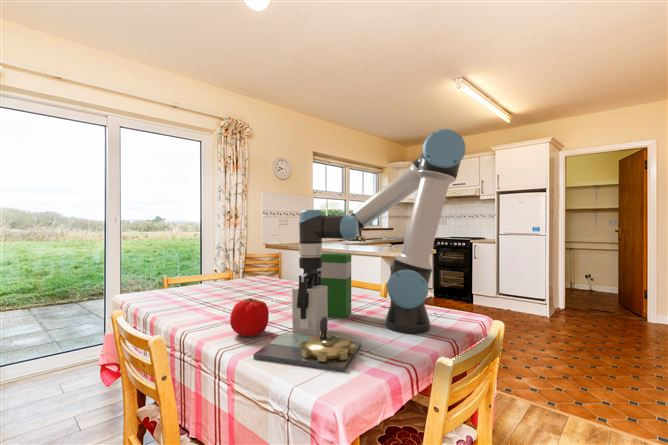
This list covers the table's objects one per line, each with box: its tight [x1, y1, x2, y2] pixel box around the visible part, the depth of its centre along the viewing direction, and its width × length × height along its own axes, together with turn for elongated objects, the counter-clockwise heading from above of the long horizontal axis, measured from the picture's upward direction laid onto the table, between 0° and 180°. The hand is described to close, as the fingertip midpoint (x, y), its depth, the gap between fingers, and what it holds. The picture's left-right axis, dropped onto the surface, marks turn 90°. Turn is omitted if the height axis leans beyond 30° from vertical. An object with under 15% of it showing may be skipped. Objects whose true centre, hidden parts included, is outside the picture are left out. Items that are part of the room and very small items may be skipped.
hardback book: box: [317, 252, 352, 319], centre depth 129 cm, size 18×7×24 cm, turn 71°
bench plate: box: [253, 332, 363, 373], centre depth 90 cm, size 25×18×1 cm
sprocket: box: [300, 317, 356, 362], centre depth 87 cm, size 15×15×8 cm
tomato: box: [229, 297, 270, 338], centre depth 105 cm, size 12×13×12 cm
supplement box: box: [291, 285, 329, 337], centre depth 107 cm, size 9×9×15 cm
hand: (310, 324), depth 107 cm, fingers closed on supplement box, 9 cm apart
